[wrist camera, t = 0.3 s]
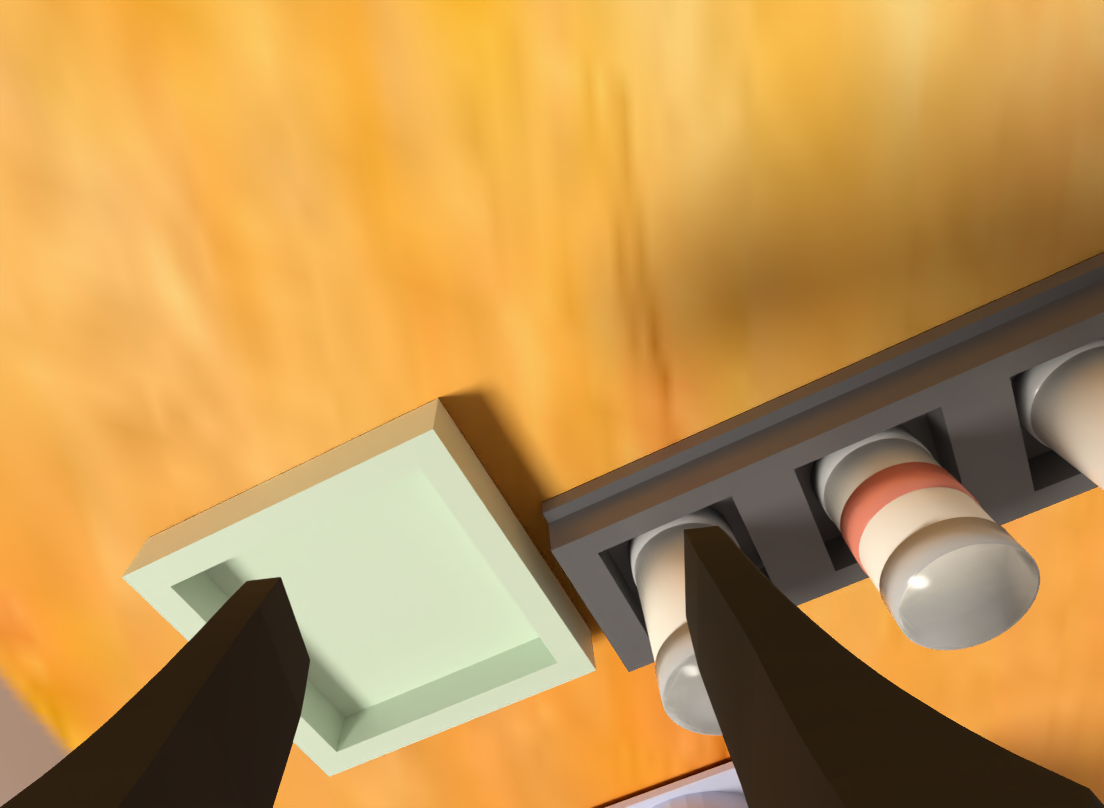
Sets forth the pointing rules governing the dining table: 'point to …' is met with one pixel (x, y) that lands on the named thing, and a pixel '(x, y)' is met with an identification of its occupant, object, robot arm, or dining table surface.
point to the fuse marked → (925, 542)
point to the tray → (383, 587)
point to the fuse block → (828, 426)
